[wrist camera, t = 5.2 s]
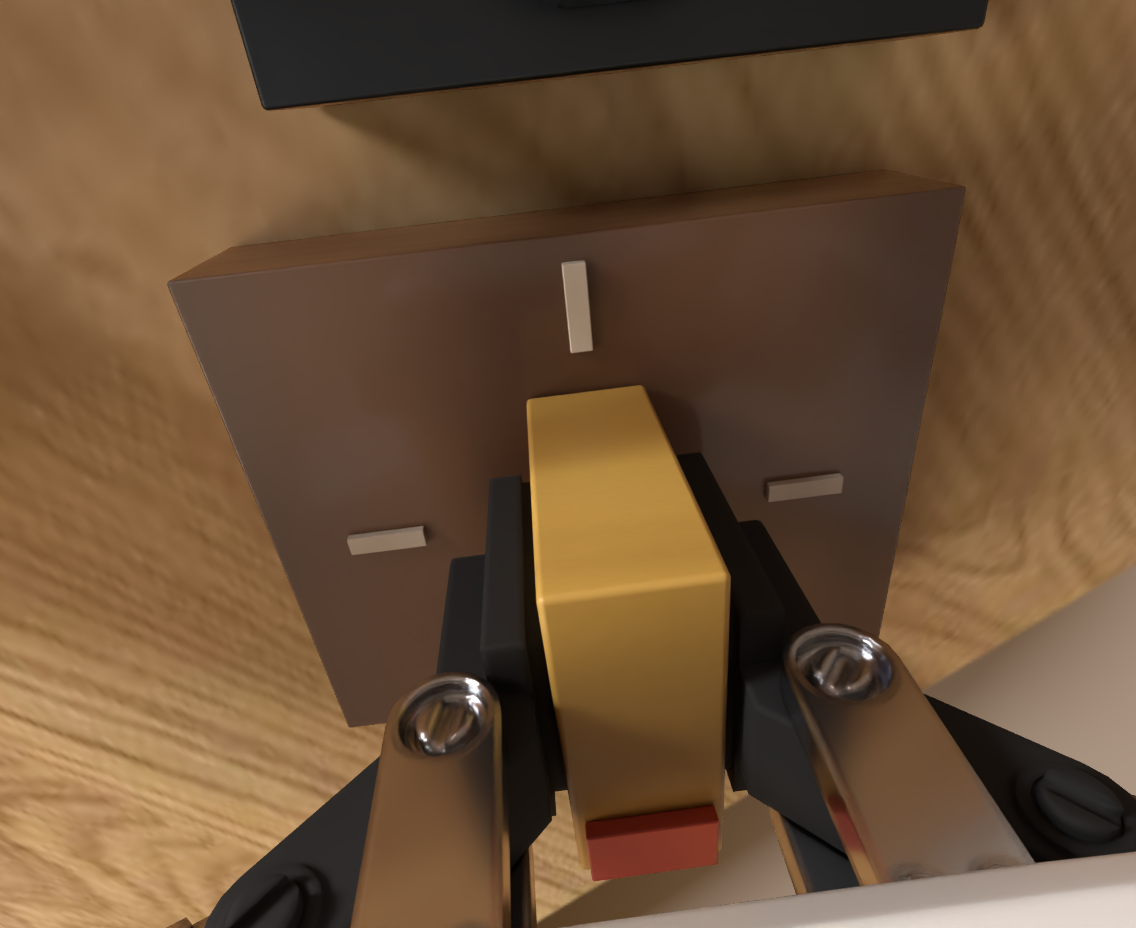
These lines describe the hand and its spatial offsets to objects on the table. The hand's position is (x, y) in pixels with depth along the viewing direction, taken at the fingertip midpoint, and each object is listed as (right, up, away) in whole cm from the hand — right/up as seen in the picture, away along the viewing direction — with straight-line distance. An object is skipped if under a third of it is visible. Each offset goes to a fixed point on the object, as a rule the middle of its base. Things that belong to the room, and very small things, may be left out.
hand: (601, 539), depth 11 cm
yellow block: (0, 0, +1) cm, 1 cm away
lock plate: (0, +2, +3) cm, 3 cm away
